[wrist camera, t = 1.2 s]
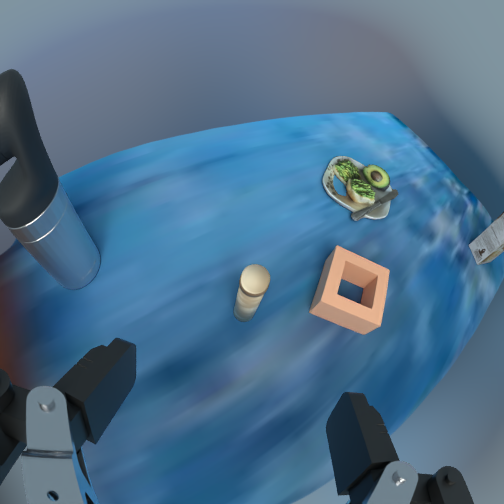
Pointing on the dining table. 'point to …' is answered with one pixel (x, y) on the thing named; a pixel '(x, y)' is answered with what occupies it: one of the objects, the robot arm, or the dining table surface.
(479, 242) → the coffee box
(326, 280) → the orange square ring
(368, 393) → the dining table surface
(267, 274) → the birch peg
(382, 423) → the robot arm
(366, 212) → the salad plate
